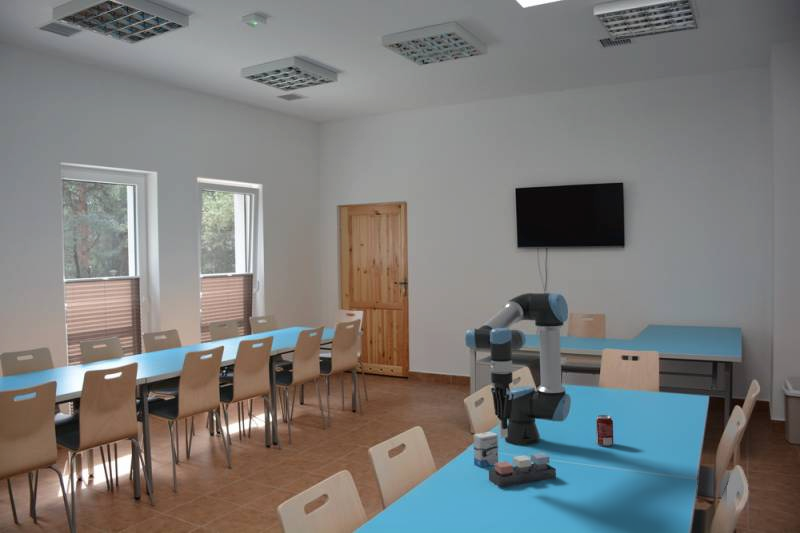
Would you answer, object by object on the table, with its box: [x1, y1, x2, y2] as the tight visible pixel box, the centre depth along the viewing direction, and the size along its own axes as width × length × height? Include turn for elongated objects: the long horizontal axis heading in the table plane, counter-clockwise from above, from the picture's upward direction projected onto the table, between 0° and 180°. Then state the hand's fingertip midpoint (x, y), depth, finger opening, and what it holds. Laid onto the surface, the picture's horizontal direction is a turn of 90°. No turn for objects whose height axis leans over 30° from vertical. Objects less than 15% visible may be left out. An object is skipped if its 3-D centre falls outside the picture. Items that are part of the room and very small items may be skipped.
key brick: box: [494, 461, 514, 476], centre depth 222 cm, size 5×5×5 cm
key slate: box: [530, 452, 550, 470], centre depth 227 cm, size 5×5×5 cm
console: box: [488, 463, 557, 489], centre depth 224 cm, size 23×8×4 cm, turn 109°
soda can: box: [595, 414, 614, 448], centre depth 261 cm, size 7×7×12 cm
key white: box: [512, 454, 532, 473], centre depth 224 cm, size 5×5×5 cm
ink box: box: [473, 431, 499, 468], centre depth 241 cm, size 8×5×12 cm, turn 117°
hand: (503, 436), depth 222 cm, fingers closed
